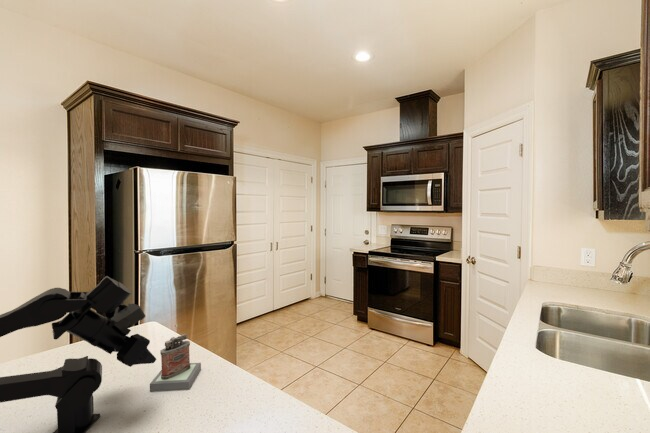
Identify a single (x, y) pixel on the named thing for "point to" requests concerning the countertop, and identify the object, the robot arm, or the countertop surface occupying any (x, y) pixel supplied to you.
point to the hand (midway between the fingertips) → (145, 355)
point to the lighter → (175, 357)
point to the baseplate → (176, 380)
